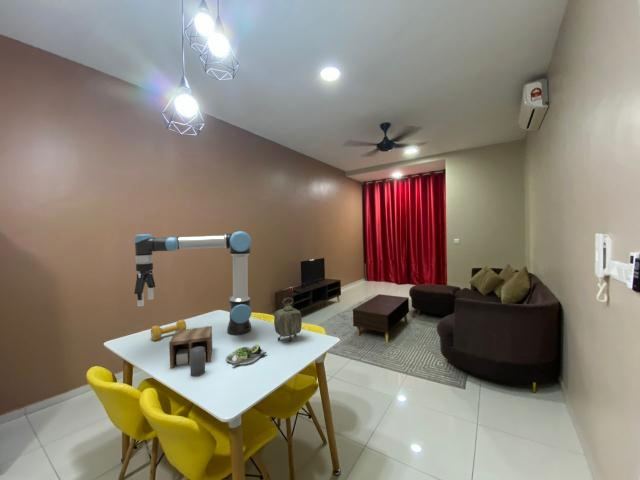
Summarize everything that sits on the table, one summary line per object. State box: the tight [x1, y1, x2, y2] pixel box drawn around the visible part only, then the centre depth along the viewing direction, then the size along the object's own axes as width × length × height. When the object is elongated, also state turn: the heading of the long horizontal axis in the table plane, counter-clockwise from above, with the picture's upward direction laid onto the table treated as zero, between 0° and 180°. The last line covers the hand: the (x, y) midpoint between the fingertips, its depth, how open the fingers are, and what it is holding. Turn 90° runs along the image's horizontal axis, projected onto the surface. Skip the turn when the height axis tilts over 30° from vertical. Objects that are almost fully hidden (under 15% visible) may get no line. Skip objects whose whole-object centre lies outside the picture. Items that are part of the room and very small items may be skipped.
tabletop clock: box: [273, 297, 303, 342], centre depth 152 cm, size 14×9×25 cm, turn 122°
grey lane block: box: [175, 348, 189, 366], centre depth 129 cm, size 5×6×5 cm
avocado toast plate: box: [225, 344, 267, 367], centre depth 131 cm, size 19×18×5 cm
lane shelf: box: [168, 326, 213, 369], centre depth 133 cm, size 18×16×12 cm
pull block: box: [189, 346, 208, 378], centre depth 124 cm, size 6×19×11 cm, turn 20°
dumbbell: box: [150, 319, 187, 342], centre depth 163 cm, size 19×9×8 cm, turn 135°
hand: (146, 302), depth 138 cm, fingers open, 13 cm apart
